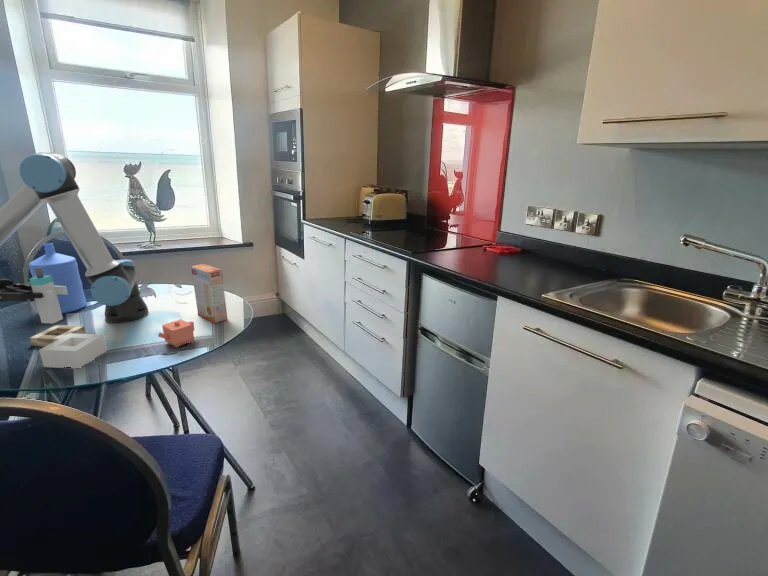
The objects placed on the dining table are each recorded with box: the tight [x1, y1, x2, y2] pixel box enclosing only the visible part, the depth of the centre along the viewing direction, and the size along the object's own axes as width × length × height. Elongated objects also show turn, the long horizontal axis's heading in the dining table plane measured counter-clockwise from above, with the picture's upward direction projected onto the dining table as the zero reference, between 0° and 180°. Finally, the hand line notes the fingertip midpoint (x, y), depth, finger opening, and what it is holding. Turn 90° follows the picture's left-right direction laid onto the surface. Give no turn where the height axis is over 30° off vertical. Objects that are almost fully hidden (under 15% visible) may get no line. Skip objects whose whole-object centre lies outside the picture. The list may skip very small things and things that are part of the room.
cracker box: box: [190, 263, 228, 324], centre depth 166 cm, size 14×6×21 cm, turn 48°
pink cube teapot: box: [157, 318, 196, 348], centre depth 145 cm, size 8×12×8 cm, turn 141°
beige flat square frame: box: [29, 324, 87, 347], centre depth 149 cm, size 11×11×3 cm
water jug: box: [28, 242, 87, 314], centre depth 174 cm, size 16×16×28 cm
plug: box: [28, 267, 64, 325], centre depth 135 cm, size 4×4×18 cm
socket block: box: [38, 333, 108, 369], centre depth 135 cm, size 12×12×6 cm
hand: (59, 292), depth 134 cm, fingers closed on plug, 4 cm apart
